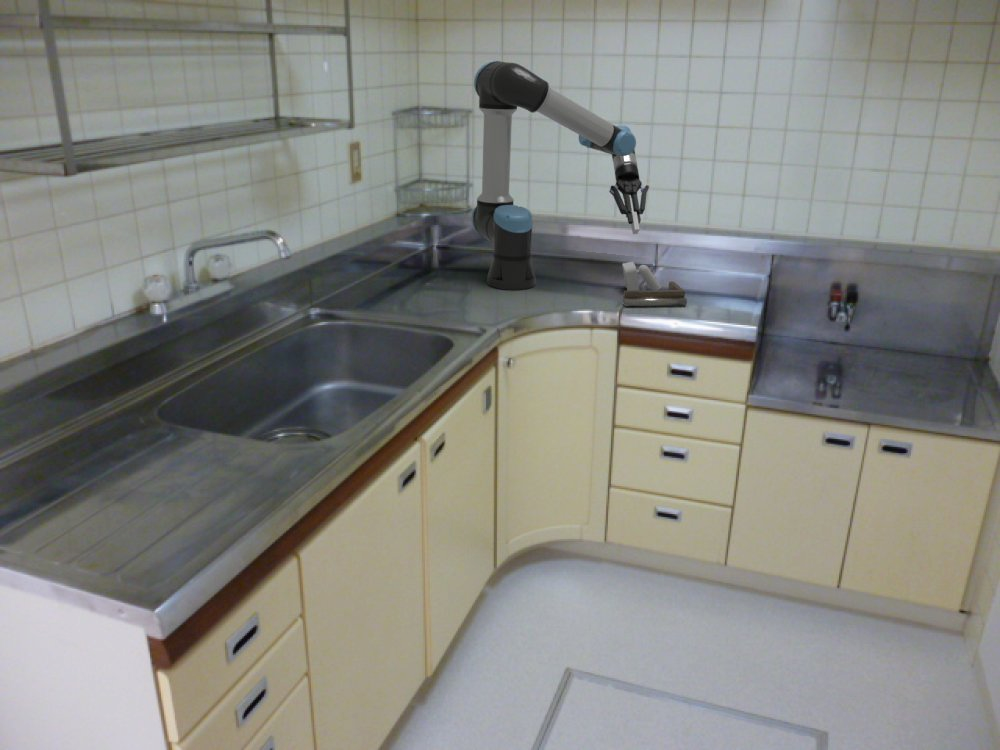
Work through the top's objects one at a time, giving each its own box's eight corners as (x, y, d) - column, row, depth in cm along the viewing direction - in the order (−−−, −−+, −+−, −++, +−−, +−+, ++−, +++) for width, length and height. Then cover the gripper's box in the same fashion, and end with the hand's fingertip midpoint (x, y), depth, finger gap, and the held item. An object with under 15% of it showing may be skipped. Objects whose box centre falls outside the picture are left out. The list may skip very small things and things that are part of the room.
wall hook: (663, 293, 253) (658, 262, 249) (629, 300, 254) (624, 269, 250) (659, 286, 260) (654, 255, 257) (626, 293, 261) (621, 262, 258)
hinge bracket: (626, 307, 241) (627, 294, 239) (615, 294, 253) (616, 282, 251) (686, 307, 243) (687, 293, 241) (672, 294, 255) (673, 281, 253)
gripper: (642, 176, 276) (653, 237, 267) (604, 176, 274) (613, 238, 265) (648, 162, 269) (659, 224, 260) (609, 162, 267) (618, 225, 259)
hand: (636, 231), depth 263 cm, fingers closed
